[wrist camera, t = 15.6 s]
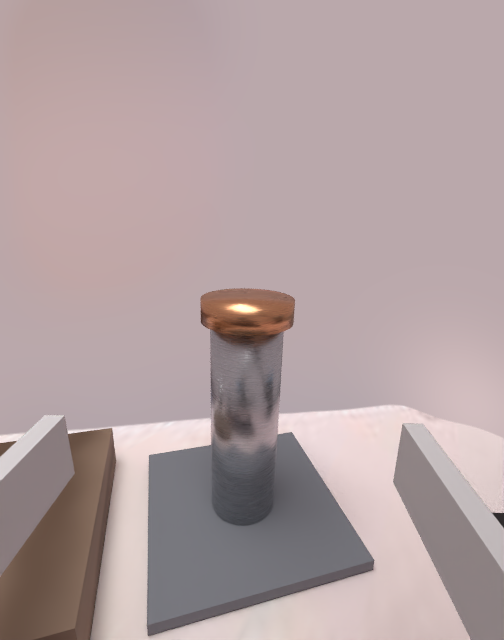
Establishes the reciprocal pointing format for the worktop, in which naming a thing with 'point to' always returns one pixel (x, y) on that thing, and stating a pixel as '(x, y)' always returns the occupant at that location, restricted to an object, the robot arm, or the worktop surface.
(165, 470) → the rubber pad
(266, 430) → the steel plug
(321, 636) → the worktop surface
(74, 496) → the bore block
